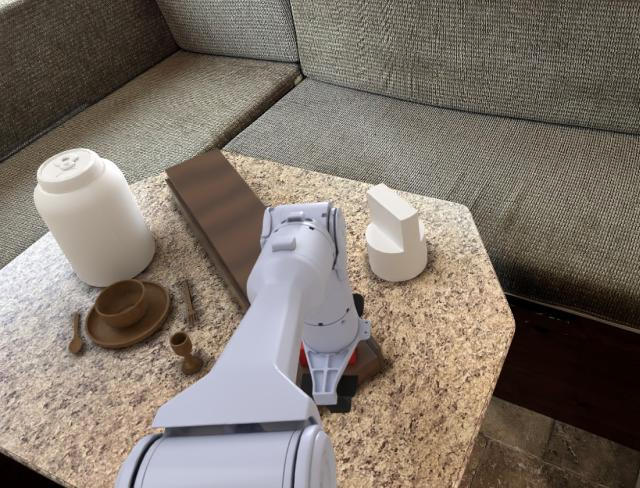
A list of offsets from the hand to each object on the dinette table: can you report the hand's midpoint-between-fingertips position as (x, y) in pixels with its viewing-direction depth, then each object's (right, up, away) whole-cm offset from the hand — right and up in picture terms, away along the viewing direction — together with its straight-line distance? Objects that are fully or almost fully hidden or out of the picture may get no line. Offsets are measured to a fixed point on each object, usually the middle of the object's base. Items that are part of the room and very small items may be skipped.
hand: (343, 377), depth 67 cm
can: (-40, +9, +32) cm, 52 cm away
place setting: (-31, 0, +19) cm, 37 cm away
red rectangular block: (-3, 0, +10) cm, 11 cm away
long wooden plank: (-16, +8, +27) cm, 33 cm away
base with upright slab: (+6, +10, +27) cm, 29 cm away
